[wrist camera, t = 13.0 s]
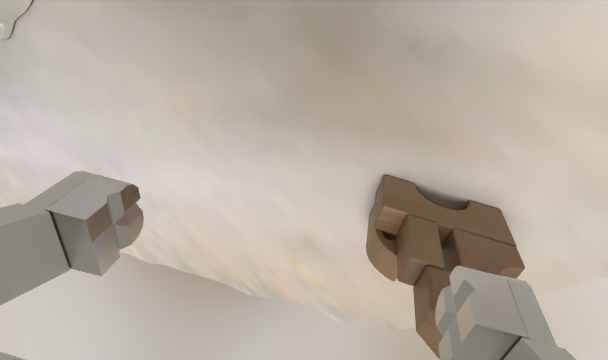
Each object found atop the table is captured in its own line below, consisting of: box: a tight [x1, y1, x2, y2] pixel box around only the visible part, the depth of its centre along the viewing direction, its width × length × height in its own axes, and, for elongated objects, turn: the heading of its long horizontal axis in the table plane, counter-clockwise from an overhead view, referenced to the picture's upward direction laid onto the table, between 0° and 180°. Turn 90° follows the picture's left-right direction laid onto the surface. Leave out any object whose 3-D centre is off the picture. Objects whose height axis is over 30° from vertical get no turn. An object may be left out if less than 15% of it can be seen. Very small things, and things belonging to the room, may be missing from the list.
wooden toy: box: [366, 175, 525, 359], centre depth 31 cm, size 15×7×25 cm, turn 78°
